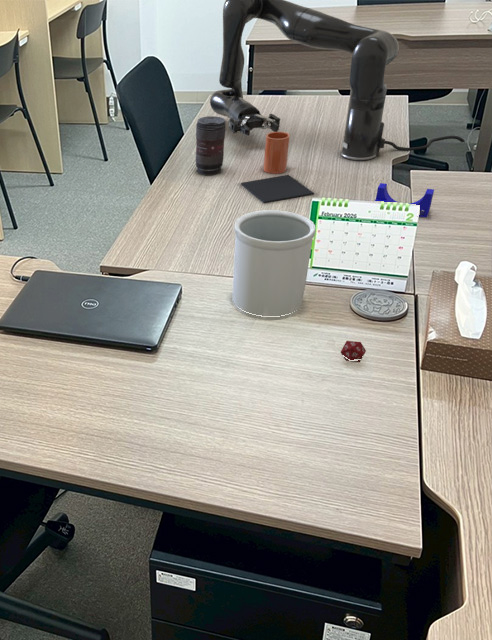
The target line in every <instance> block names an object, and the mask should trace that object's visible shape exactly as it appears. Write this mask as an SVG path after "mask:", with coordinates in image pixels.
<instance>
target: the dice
mask: <svg viewBox="0 0 492 640" xmlns="http://www.w3.org/2000/svg"><path fill="white" fill-rule="evenodd" d="M366 352H367V350H366V348H365V347H364V345H363V343H362V342H361V341H353V340H346V341H345V343H344V344H343V347H342V348H341V350H340V354H341V356H342V355H344V356H345V357H347V358H348V359H350V360H354V359H361V360H358V361H349V360H348V359H346V358H345V357H343V359H344V360H345V362H351V363H361V361H362V360H363V357H364V356H365V354H366ZM362 356H363V357H362Z"/></svg>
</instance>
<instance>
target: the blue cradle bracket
mask: <svg viewBox="0 0 492 640" xmlns="http://www.w3.org/2000/svg"><path fill="white" fill-rule="evenodd" d="M434 192H435V189H432V188H426V190H425V192H424V195H423V196H422V197H420V199H419V200H416V201H414V202H411V203H409V204H416V205H420V215H419V217H418V218H425V219H427V218H428V216H429V214H430V210H431V206H432V202H433V197H434ZM374 201H384V202H398V201H396V200H395V199H393V198H392V196H391V195H390V193H389V191H388V184H387V183H384V182H379V184H378V187H377V190H376V195H375V199H374Z"/></svg>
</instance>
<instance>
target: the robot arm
mask: <svg viewBox="0 0 492 640" xmlns="http://www.w3.org/2000/svg"><path fill="white" fill-rule="evenodd" d="M253 19H259V20H263V21H265V22H269V23H271V24H273V25H275V26H276V27H277V28H278V29H279V31H280V32H281V33H282V35H283V36H285V38H287V39H288V40H289V41H291V42H294V43H296V44H299V45H302V46H305V47H309V48H313V49H318V50H319V49H320V50H331V51H332V50H333V51H340V52H345V53H348V54H351V59H350V68H349V69H350V70H349V81H348V82H349V88H350V93H349V100H348V107H347V113H346V121H345V128H344V136H343V140H342V143H341V147H342V148H341V153H340V155H341V156H342V157H343V158H344V159H347V160H350V161H351V160H352V161H369V160H372V159H374V158H376V157H379V156H380V151H381V149H384V148H385V145H389V146H391V147H392V148H394V149H395V150H397V151H398V150H399V151H404V152H405V151H408V152H413V151H421V150H425V149H428V148H429V147H431V145H432V143H434V142H439V141H444V140H450V139H453V140H458V141H459V142H460V143H466V140H465V139H463V137H461V136H459V135H445V136H440V137H435V138H432V139H430V140H429V141H428V142H427V144H425V145H422V146H414V147H413V146H412V147H403V146H398V145H397V144H396V143H395V142H392V141H389V140H386V138H383V133H384V128H385V123H384V122H383V121H382V120H383V117H384V116H383V114H384V108H385V103H386V98H387V92H388V85H387V84H386V83H385V72H386V66H387V65H389V64H391V63H392V62H393V61H394V60H395V58H397V56H398V54H399V51H400V45H399V44H400V43H399V41H398V39H397V38H396V36H394V35H393V34H392V33H391V32H388V31H385V30H381V29H375V28H371V27H367V26H362V25H357V24H354V23H351V22H349V21H347V20H343V19H341V18H339V17H335V16H333V15H330V14H327V13H324V12H322V11H320V10H316V9H313V8H310V7H307V6H303V5H299V4H297V3H294V2H292V1H288V0H225V1H224V4H223V7H222V58H221V65H220V71H219V77H218V78H219V82H218V83H219V84H220V85H221V86H222V87H223V88H226V89H220V90H216V91H214V92H213V93H212V94H211V96H210V98H209V104H210V105H209V106H210V108H211V110H212V111H213V112H214V113H215V114H217V115H220V116H223V117H227V118H229V119H228V128H229V130H230V131H231V133H233V134H237V133H238V132H239V133H240V134H243V135H245V136H246V137H249V136H250V133H251V131H253V130H254V129H261V130H266V129H270V130H271V131H272V132H279V130H280V124H281V118H280V117H278V116H277V115H275V114H273V113H269V114H268V116H265V115H261V112H260V110H259V108H258V107H255V106H254V105H253V104H252V103H250V102H249V101H247V100H245V99H244V94H243V87H242V86H243V85H242V78H243V73H244V67H245V54H244V50H243V46H242V36H243V32H244V29H245V26H246V24H247V23H250V22H251V21H252V20H253Z"/></svg>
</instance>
